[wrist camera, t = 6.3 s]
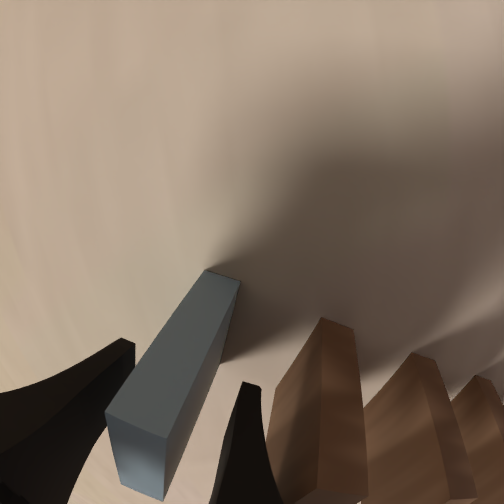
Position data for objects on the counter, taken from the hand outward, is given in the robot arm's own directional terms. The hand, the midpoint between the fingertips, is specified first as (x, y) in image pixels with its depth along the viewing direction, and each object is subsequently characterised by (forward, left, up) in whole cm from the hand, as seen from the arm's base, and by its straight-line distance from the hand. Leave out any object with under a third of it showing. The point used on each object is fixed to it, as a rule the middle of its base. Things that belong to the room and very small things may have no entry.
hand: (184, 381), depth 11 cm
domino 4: (-15, 0, -4) cm, 16 cm away
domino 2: (-5, 0, -4) cm, 6 cm away
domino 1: (0, 0, -4) cm, 4 cm away
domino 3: (-10, 0, -4) cm, 11 cm away
